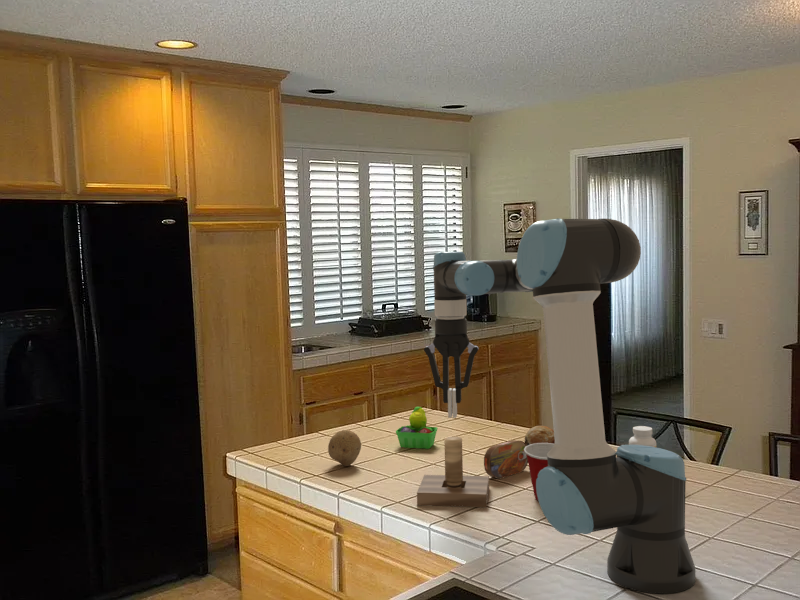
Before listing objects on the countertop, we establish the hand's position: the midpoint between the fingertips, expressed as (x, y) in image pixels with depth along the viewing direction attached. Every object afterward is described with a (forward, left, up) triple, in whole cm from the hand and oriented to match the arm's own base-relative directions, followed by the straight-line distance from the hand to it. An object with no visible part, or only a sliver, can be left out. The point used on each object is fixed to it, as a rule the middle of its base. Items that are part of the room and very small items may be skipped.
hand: (452, 416), depth 187 cm
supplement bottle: (+18, -46, -20) cm, 53 cm away
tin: (+19, -12, -20) cm, 30 cm away
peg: (0, 0, -19) cm, 19 cm away
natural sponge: (+23, +32, -20) cm, 44 cm away
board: (0, 0, -19) cm, 19 cm away
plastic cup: (0, -22, -20) cm, 29 cm away
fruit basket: (+46, +15, -20) cm, 52 cm away
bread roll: (+48, -22, -20) cm, 56 cm away
